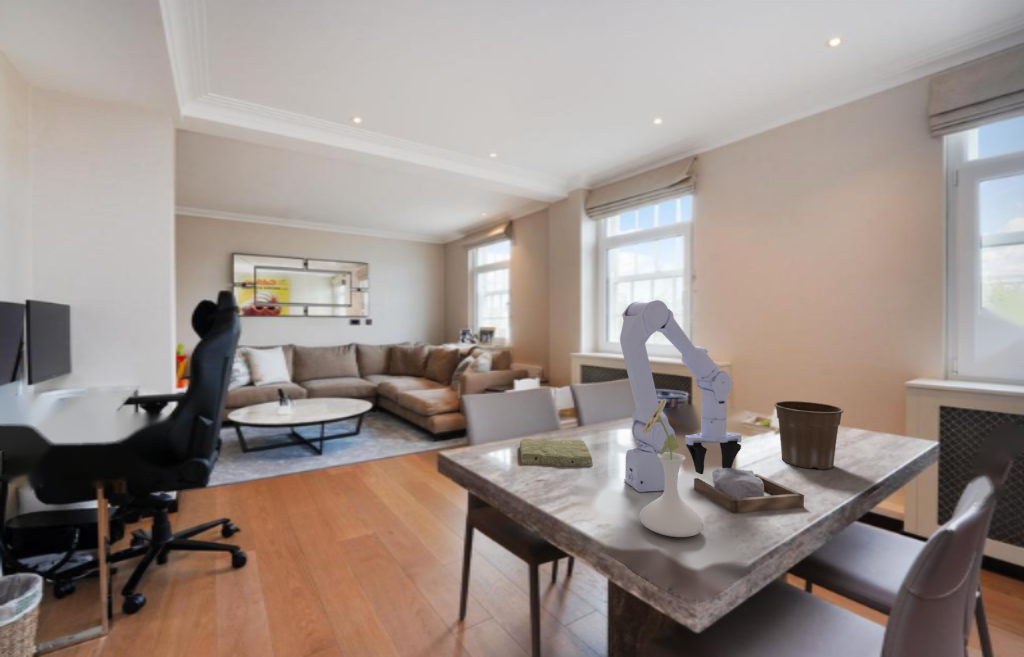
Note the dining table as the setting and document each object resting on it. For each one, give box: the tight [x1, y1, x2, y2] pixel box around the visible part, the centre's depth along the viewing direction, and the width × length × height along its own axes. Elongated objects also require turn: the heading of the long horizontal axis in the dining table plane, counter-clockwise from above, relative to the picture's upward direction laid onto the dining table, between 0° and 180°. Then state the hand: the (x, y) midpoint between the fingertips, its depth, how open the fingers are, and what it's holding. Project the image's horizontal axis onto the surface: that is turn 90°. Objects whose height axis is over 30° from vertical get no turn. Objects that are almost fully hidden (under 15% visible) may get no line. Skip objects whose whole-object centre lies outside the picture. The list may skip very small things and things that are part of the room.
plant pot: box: [773, 400, 845, 470], centre depth 125 cm, size 16×16×16 cm
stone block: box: [712, 467, 765, 499], centre depth 105 cm, size 12×5×10 cm
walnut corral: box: [693, 473, 805, 514], centre depth 100 cm, size 17×14×2 cm
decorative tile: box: [519, 438, 593, 467], centre depth 130 cm, size 19×20×4 cm
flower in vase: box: [638, 398, 704, 538], centre depth 83 cm, size 13×11×25 cm
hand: (712, 472), depth 111 cm, fingers open, 7 cm apart
